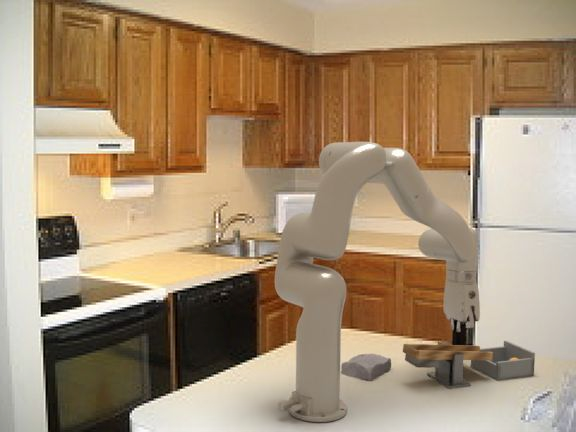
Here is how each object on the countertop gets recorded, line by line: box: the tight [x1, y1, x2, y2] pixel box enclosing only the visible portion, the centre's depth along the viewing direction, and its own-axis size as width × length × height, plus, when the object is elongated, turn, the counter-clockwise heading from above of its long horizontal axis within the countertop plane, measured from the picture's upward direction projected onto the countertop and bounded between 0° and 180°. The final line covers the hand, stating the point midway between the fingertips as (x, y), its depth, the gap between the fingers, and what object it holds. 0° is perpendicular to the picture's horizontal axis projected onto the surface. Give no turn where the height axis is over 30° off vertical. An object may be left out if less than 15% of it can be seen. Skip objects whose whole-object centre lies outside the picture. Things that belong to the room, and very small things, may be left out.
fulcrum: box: [426, 344, 472, 390], centre depth 155 cm, size 6×10×8 cm, turn 19°
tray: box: [470, 340, 536, 382], centre depth 162 cm, size 11×11×6 cm
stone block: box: [340, 353, 392, 382], centre depth 162 cm, size 12×5×10 cm
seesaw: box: [402, 340, 493, 369], centre depth 158 cm, size 22×14×4 cm, turn 110°
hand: (459, 345), depth 164 cm, fingers closed
